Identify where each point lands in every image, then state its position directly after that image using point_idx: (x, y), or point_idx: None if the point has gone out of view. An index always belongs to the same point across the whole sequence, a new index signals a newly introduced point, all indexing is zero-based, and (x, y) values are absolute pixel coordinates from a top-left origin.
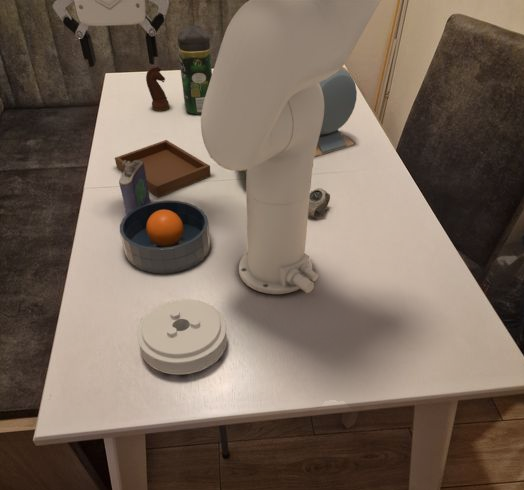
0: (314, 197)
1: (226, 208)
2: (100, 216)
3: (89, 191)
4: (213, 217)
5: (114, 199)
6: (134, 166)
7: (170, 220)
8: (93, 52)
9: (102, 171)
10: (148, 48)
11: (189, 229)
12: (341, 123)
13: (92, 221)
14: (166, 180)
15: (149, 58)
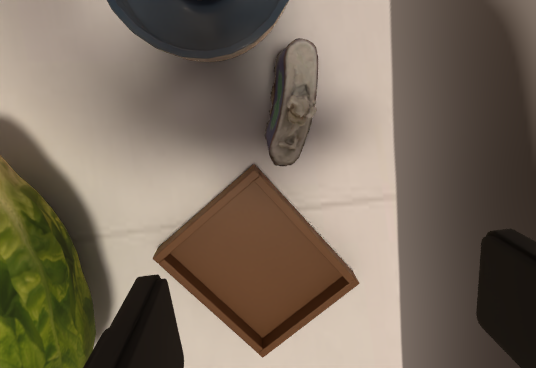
0: None
1: (103, 124)
2: (360, 91)
3: (395, 185)
4: (125, 88)
5: (341, 156)
6: (290, 136)
7: None
8: (510, 333)
9: (379, 259)
10: (130, 327)
11: (163, 23)
12: None
13: (374, 72)
14: (244, 221)
15: (154, 293)
